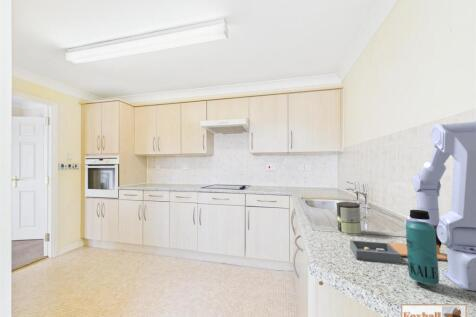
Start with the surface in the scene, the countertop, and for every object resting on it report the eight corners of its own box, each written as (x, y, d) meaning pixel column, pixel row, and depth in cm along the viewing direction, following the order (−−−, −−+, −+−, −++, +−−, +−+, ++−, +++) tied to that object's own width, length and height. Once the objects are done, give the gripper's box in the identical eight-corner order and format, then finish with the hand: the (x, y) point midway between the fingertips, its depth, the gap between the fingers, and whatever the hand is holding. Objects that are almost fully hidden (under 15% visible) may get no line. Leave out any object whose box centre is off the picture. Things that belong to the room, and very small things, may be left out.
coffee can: (333, 231, 104) (331, 203, 105) (348, 228, 108) (346, 201, 109) (350, 237, 95) (349, 206, 96) (366, 234, 99) (364, 204, 99)
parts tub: (401, 263, 68) (400, 254, 68) (356, 259, 72) (356, 250, 72) (388, 251, 78) (388, 243, 78) (350, 247, 82) (350, 240, 82)
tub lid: (449, 261, 68) (448, 249, 69) (400, 257, 73) (399, 245, 73) (429, 248, 79) (428, 237, 80) (388, 245, 84) (387, 235, 84)
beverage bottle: (424, 277, 59) (419, 207, 60) (448, 291, 53) (442, 212, 54) (402, 278, 59) (397, 208, 60) (423, 292, 52) (418, 212, 53)
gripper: (445, 207, 77) (448, 244, 76) (399, 205, 81) (401, 240, 81) (459, 210, 70) (462, 251, 70) (407, 209, 75) (410, 247, 74)
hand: (430, 246), depth 75 cm, fingers open, 3 cm apart
